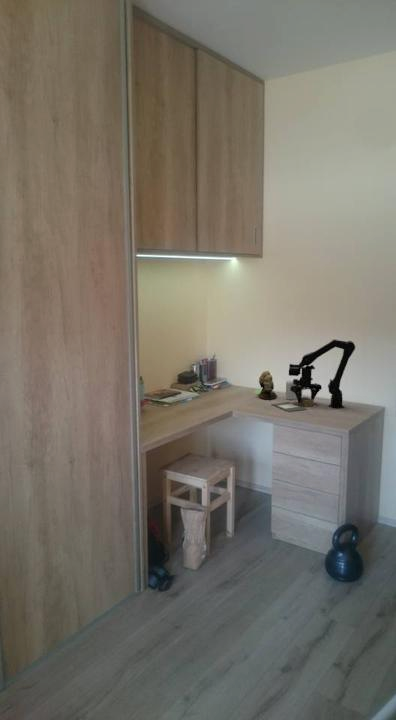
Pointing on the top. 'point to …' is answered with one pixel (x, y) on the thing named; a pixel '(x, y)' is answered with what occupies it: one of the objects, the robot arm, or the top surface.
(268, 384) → the bust sculpture
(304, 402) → the walnut card box
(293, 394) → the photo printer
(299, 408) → the picture frame
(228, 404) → the top surface
